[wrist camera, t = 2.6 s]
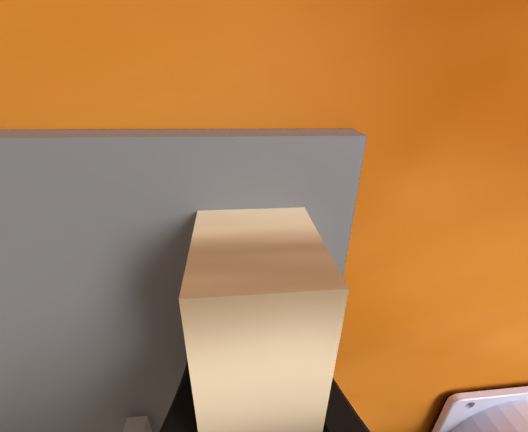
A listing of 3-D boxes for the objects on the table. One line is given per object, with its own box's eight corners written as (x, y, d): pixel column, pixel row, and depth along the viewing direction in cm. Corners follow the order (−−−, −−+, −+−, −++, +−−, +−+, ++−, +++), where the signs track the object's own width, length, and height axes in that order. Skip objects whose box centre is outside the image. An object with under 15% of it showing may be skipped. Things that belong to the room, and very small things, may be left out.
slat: (197, 210, 8) (178, 299, 5) (304, 207, 8) (348, 289, 5) (219, 448, 14) (216, 562, 10) (284, 441, 14) (300, 549, 11)
